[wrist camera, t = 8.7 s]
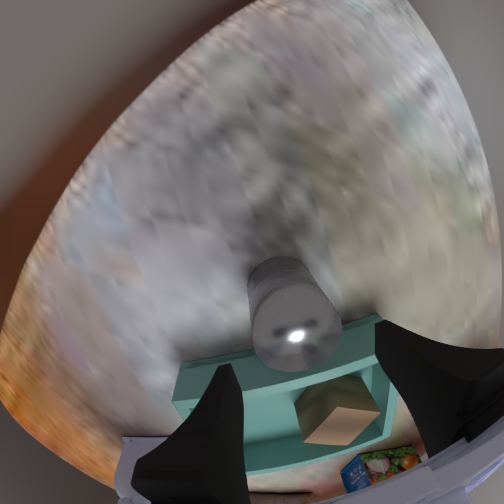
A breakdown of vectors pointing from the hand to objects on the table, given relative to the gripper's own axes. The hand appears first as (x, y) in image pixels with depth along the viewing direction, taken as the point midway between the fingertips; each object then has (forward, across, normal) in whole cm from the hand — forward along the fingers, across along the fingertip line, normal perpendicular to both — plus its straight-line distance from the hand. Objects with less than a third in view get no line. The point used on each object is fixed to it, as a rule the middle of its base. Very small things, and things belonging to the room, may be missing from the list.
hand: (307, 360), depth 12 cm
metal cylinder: (+9, 0, 0) cm, 9 cm away
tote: (+9, +1, +12) cm, 15 cm away
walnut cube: (+8, -2, +12) cm, 15 cm away
